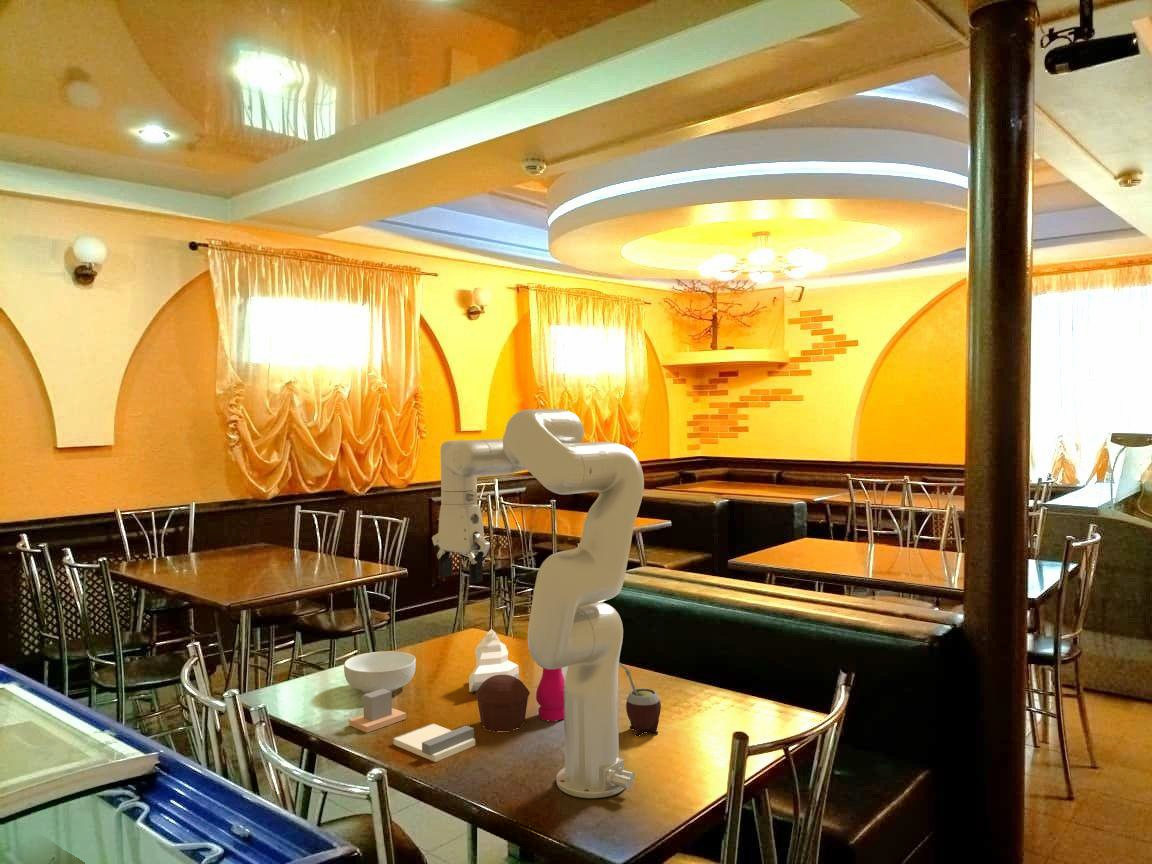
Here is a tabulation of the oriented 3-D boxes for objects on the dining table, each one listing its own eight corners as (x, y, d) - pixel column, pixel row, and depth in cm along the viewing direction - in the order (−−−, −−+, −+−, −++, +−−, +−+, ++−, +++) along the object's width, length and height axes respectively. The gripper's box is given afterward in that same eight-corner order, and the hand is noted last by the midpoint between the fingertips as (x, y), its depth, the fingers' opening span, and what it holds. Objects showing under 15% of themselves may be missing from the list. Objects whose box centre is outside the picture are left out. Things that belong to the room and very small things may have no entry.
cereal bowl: (400, 703, 185) (400, 672, 185) (332, 700, 187) (331, 670, 187) (426, 679, 202) (425, 651, 201) (362, 677, 204) (362, 649, 204)
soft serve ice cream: (451, 693, 195) (448, 632, 199) (506, 686, 204) (502, 628, 207) (474, 693, 185) (471, 629, 189) (531, 686, 194) (527, 625, 197)
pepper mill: (565, 723, 171) (564, 628, 171) (532, 721, 172) (530, 627, 172) (572, 711, 178) (571, 620, 178) (540, 709, 179) (539, 619, 179)
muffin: (465, 723, 172) (464, 676, 172) (508, 710, 179) (507, 665, 179) (497, 740, 163) (496, 690, 163) (541, 725, 170) (540, 678, 170)
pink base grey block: (406, 718, 175) (405, 690, 175) (366, 732, 167) (366, 702, 167) (388, 711, 179) (387, 683, 179) (349, 725, 172) (348, 696, 171)
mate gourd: (667, 729, 167) (665, 656, 167) (648, 742, 160) (647, 666, 160) (635, 722, 171) (634, 651, 171) (616, 734, 165) (615, 661, 164)
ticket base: (477, 744, 161) (477, 729, 161) (433, 762, 152) (432, 747, 152) (434, 728, 169) (434, 714, 169) (390, 745, 161) (390, 730, 161)
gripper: (500, 499, 169) (501, 581, 170) (446, 495, 181) (448, 571, 181) (473, 502, 164) (474, 587, 164) (419, 498, 175) (421, 577, 176)
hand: (460, 579), depth 173 cm, fingers open, 9 cm apart
